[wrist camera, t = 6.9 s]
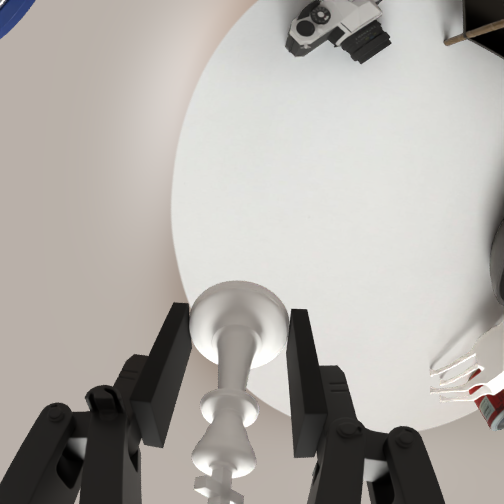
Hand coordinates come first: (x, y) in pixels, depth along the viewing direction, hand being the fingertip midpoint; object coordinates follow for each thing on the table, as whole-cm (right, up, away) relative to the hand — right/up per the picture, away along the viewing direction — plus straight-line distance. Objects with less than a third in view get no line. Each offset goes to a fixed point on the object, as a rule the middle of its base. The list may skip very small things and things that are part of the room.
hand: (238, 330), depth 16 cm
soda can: (+43, -19, +30) cm, 56 cm away
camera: (+11, +28, +13) cm, 33 cm away
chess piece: (0, 0, 0) cm, 1 cm away
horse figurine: (+39, -9, +26) cm, 48 cm away
